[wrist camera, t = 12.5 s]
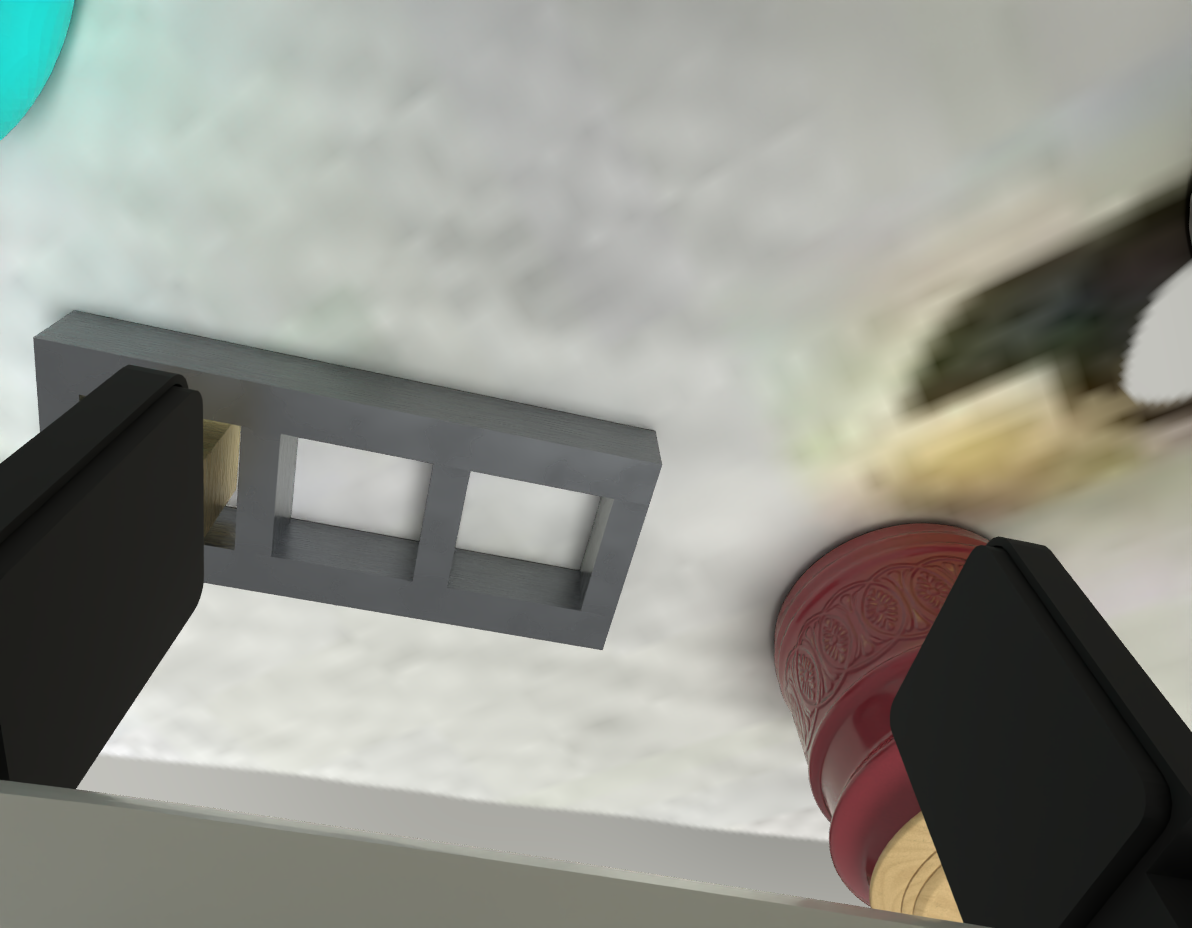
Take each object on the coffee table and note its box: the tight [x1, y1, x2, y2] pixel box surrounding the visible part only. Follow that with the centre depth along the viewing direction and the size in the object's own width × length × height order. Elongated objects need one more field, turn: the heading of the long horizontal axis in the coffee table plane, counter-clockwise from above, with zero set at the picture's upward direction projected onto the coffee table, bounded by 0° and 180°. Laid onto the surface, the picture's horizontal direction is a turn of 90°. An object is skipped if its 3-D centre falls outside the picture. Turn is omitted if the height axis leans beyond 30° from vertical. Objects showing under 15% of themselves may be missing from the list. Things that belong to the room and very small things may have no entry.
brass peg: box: [203, 419, 241, 537], centre depth 33 cm, size 4×4×9 cm
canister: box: [774, 523, 989, 923], centre depth 36 cm, size 13×13×18 cm
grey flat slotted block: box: [33, 311, 662, 650], centre depth 37 cm, size 24×10×3 cm, turn 76°
